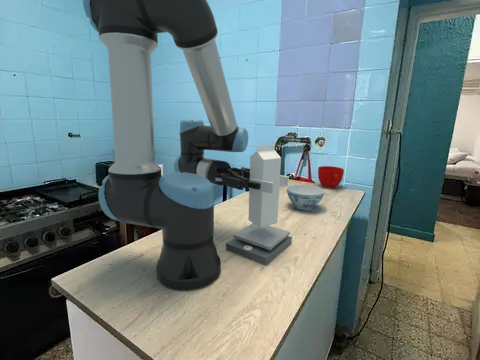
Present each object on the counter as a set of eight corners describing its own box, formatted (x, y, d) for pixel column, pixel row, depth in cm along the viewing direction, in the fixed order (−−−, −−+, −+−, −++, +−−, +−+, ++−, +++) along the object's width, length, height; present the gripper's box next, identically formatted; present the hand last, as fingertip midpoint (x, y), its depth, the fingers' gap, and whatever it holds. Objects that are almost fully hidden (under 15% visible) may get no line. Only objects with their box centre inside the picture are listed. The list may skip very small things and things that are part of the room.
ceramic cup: (321, 192, 133) (323, 172, 131) (314, 183, 150) (315, 165, 147) (348, 192, 133) (350, 173, 131) (337, 184, 149) (339, 166, 147)
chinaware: (284, 211, 105) (285, 192, 103) (286, 200, 119) (288, 183, 118) (323, 215, 102) (325, 196, 100) (321, 203, 116) (323, 186, 114)
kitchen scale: (266, 265, 68) (266, 251, 67) (225, 249, 75) (226, 237, 74) (291, 243, 80) (292, 231, 79) (254, 231, 87) (255, 220, 86)
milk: (277, 223, 76) (282, 145, 70) (260, 228, 73) (264, 147, 67) (264, 216, 81) (268, 143, 75) (247, 220, 77) (250, 144, 72)
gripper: (234, 177, 93) (295, 189, 80) (191, 190, 76) (259, 208, 64) (234, 155, 91) (297, 164, 78) (190, 165, 74) (260, 178, 62)
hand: (280, 184), depth 71 cm, fingers closed on milk, 8 cm apart
